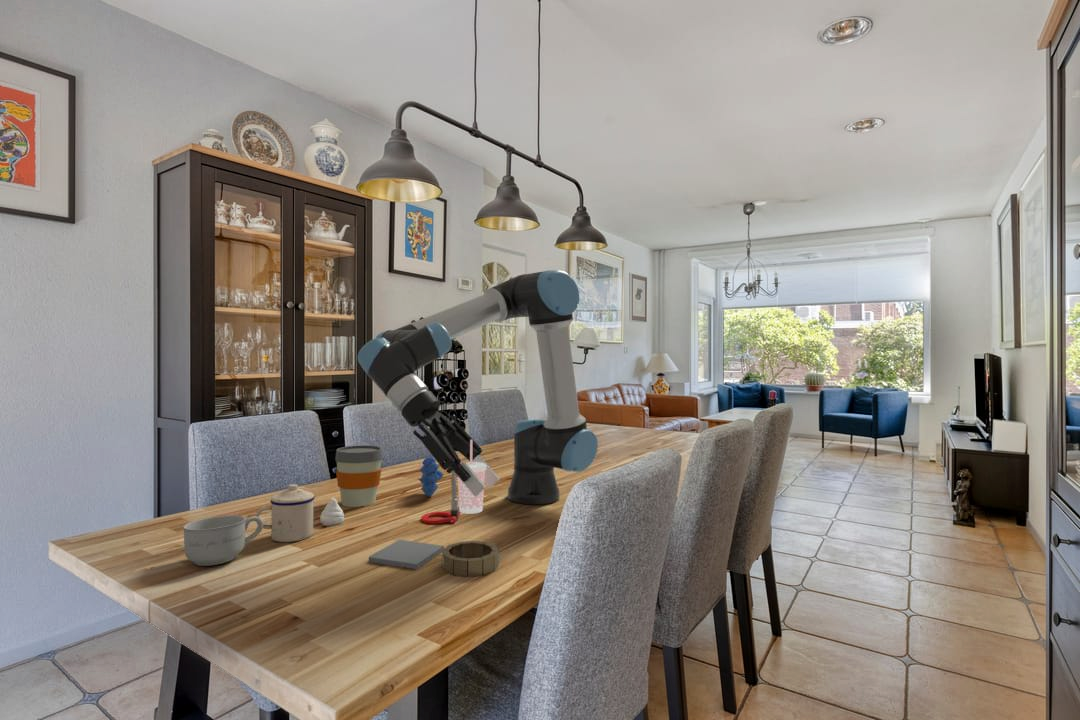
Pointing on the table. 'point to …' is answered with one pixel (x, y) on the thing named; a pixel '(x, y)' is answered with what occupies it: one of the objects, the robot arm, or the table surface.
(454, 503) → the tow hook
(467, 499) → the beverage cup
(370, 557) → the coaster
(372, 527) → the table surface
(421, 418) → the robot arm
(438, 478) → the grapes
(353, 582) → the table surface
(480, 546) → the stone block ring
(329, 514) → the white meringue swirl
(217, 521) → the teacup
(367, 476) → the reusable coffee cup
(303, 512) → the teacup with lid
